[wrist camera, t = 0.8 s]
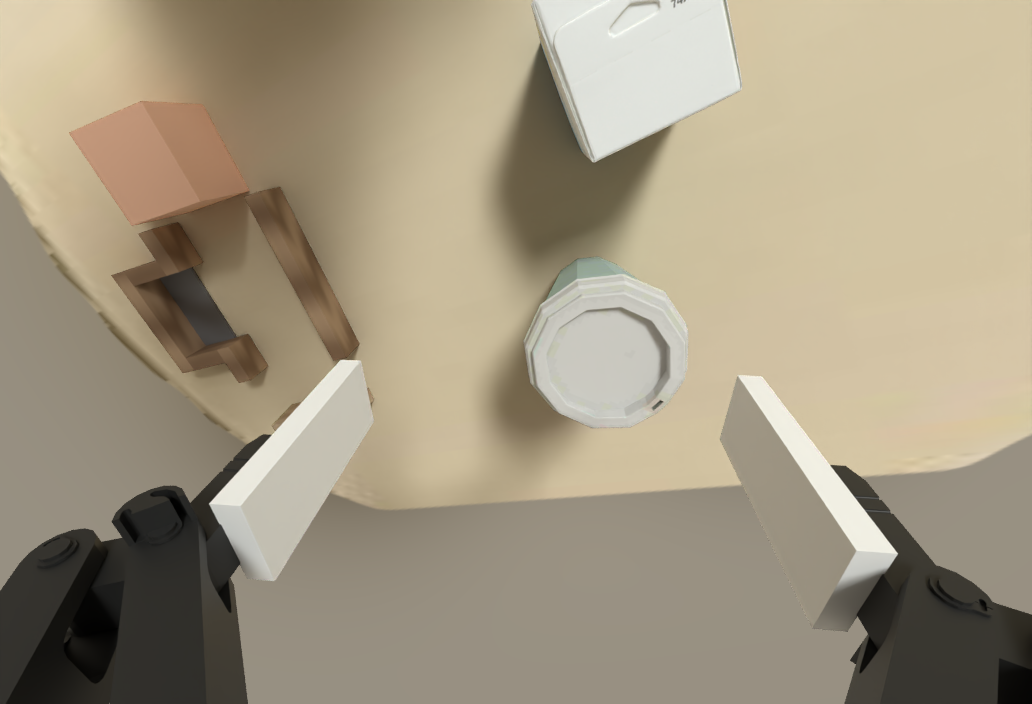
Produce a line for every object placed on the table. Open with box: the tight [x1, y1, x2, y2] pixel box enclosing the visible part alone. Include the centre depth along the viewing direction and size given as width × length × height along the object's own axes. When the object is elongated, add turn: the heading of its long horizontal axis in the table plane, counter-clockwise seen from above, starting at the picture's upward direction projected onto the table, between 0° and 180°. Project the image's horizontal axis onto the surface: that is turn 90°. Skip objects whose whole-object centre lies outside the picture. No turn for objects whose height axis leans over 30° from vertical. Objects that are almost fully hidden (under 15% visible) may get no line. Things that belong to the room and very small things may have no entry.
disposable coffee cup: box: [524, 257, 688, 428], centre depth 33 cm, size 11×11×15 cm
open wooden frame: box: [111, 187, 374, 431], centre depth 43 cm, size 23×18×4 cm
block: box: [69, 101, 249, 226], centre depth 35 cm, size 7×7×6 cm
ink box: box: [531, 0, 742, 162], centre depth 26 cm, size 9×8×12 cm
